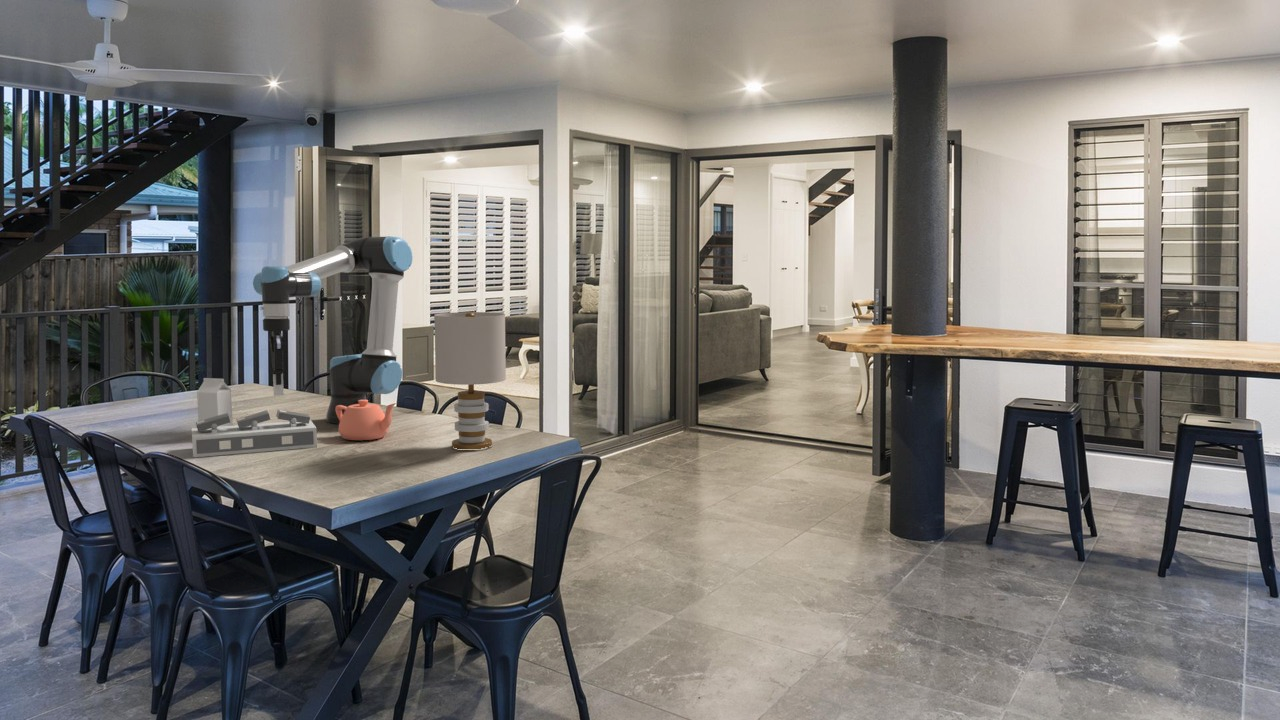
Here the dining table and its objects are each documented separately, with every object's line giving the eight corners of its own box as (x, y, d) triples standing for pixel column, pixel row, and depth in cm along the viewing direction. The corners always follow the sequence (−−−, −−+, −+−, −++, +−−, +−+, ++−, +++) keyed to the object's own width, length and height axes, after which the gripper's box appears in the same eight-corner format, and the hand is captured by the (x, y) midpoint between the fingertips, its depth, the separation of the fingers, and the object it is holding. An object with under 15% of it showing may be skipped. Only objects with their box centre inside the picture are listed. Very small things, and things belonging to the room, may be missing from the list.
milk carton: (219, 440, 292) (216, 380, 290) (199, 439, 293) (196, 379, 291) (233, 435, 299) (230, 377, 296) (213, 434, 300) (210, 376, 298)
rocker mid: (269, 417, 285) (266, 409, 284) (271, 421, 279) (268, 412, 278) (238, 426, 281) (235, 418, 280) (239, 430, 275) (237, 422, 275)
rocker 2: (305, 422, 290) (307, 413, 290) (308, 425, 284) (310, 417, 284) (275, 417, 285) (277, 408, 285) (277, 420, 280) (279, 412, 280)
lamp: (431, 443, 289) (428, 311, 284) (497, 438, 297) (495, 310, 292) (444, 456, 269) (441, 316, 265) (514, 451, 278) (513, 314, 273)
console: (311, 438, 294) (310, 416, 294) (317, 447, 281) (316, 424, 281) (192, 448, 280) (191, 425, 279) (193, 457, 267) (192, 434, 266)
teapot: (409, 435, 300) (408, 398, 299) (383, 444, 286) (382, 405, 284) (350, 431, 306) (349, 394, 305) (322, 440, 292) (320, 401, 291)
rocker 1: (230, 420, 280) (227, 412, 279) (231, 424, 274) (228, 415, 274) (198, 429, 276) (195, 421, 276) (198, 433, 271) (196, 425, 270)
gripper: (261, 316, 284) (263, 392, 286) (264, 319, 272) (267, 398, 274) (287, 316, 287) (289, 391, 289) (291, 318, 275) (294, 397, 278)
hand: (278, 395), depth 282 cm, fingers closed
